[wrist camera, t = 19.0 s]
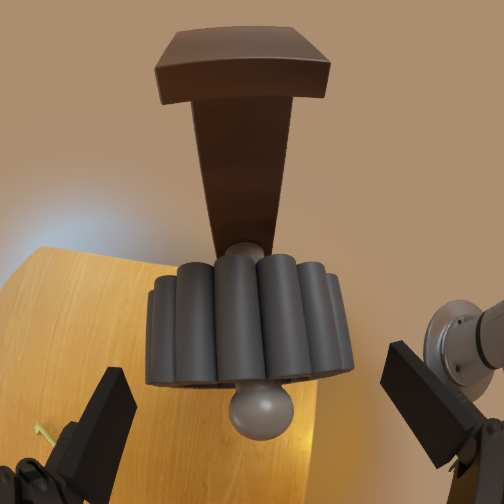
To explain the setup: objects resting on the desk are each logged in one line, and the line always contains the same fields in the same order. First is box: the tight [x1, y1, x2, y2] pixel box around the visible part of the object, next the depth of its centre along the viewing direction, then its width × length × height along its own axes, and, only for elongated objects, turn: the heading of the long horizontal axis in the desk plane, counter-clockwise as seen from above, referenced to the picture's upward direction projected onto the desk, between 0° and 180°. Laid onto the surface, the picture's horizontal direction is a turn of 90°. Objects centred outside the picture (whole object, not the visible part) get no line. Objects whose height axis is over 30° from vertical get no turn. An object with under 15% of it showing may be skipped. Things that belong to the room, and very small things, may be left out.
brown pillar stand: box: [154, 26, 331, 441], centre depth 23 cm, size 14×10×42 cm
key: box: [34, 422, 56, 447], centre depth 28 cm, size 7×12×2 cm, turn 72°
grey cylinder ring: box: [145, 254, 354, 389], centre depth 15 cm, size 5×11×11 cm, turn 95°
